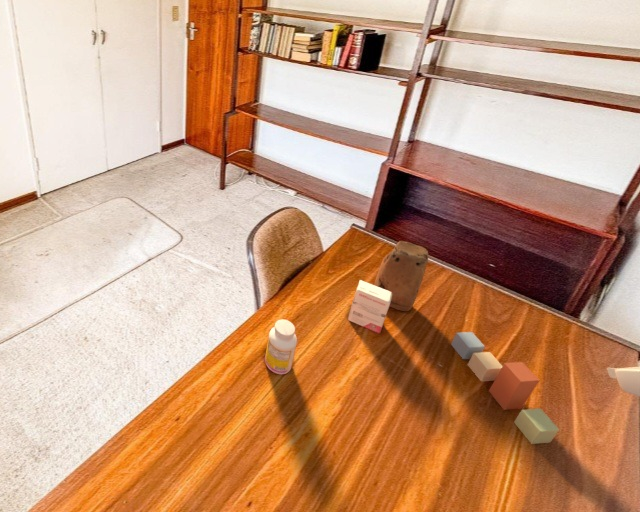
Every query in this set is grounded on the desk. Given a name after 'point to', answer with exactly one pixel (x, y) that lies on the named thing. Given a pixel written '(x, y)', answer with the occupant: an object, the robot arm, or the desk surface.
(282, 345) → the supplement bottle
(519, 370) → the tall block
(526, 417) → the cube
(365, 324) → the ink box
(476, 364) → the cube
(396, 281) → the brown tall rounded lump
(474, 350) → the cube
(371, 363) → the desk surface
